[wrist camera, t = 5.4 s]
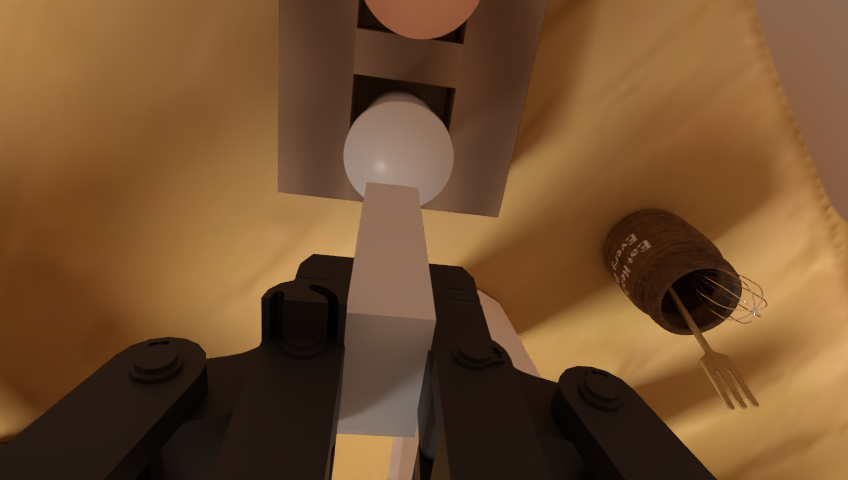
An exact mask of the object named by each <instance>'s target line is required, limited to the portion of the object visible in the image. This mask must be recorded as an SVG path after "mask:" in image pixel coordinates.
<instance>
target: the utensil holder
mask: <svg viewBox="0 0 848 480" xmlns="http://www.w3.org/2000/svg"><path fill="white" fill-rule="evenodd" d="M604 259H605V264H606V266H607V269H608V271H609V272H610V274H611V276H612V277H613V278H614V280H615V281H616V283H617V284H618V285H619V286H620V288H621V289H622V290H623V292H624V293H625V294H626V295H627V297H628V298H629V299H630V300H631V301H632V302H633V304H634V305H635V306H636V307H638V308H639V309H640V310H641V311H643V312H644V313H646V314H648V315H649V316H650V317H651V318H652V319H653V320H654V321H655V322H656V323H657V324H658V325H660V326H661V327H662V328H664V329H665V330H667V331H669V332H671V333H674V334H679V335H694V336H695V337H696V339H697V340H698V342H699V344H700V345H701V347H702V348H703V350H704V352H705V355H704V356H703V357H702V358H701V359H700V364H701V366H702V368H703V369H704V371H705V372H706V374H707V376H708V377H709V379H710V380H711V382H712V384H713V385H714V387H715V389H716V390H717V392H718V393H719V395H720V397H721V398H722V400H723V401H724V403H725V405H726V406H727V408H728V409H729V410H731V411H732V410H734V408H735V407H734V405H733V404H732V402H731V400H730V399H729V397H728V395H727V394H726V392H725V390H724V389H723V387H722V385H721V384H720V382H719V380H718V378H717V377H716V375H715V373H714V372H716V373H718V374H719V375H720V377H721V378H722V380H723V382H724V383H725V385H726V386H727V388H728V389H729V391H730V392H731V394H732V395H733V397H734V399H735V400H736V402H737V403H738V405H739V406H740V408H742V409H746V407H747V406H746V404H745V402H744V401H743V399H742V397H741V396H740V394H739V393H738V391H737V389H736V388H735V386H734V384H733V383H732V381H731V380H730V378H729V376H728V375H727V373H726V371H728V372H730V374H731V375H732V377H733V378H734V380H735V381H736V383H737V384H738V385H739V387H740V388H741V390H742V391H743V393H744V394H745V396H746V397H747V399H748V400H749V402H750V403H751V405H752V406H753V407H755V408H757V407H758V406H759V404H758V402H757V401H756V399H755V398H754V396H753V395H752V393H751V391H750V390H749V388H748V387H747V385H746V384H745V382H744V380H743V379H742V377H741V376H740V374H739V373H738V371H737V369H736V368H735V366H734V365H733V363H732V362H731V360H730V359H729V357H728V356H726V355H723V354H720V353H717V352H714V351H713V350H712V349H711V348H710V346H709V345H708V343H707V341H706V340H705V338H704V337H703V335H702V334H701V333H702V332H705V331H708V330H710V329H712V328H714V327H716V326H718V325H719V324H721V323H722V322H723V321H725V320H726V319H727V318H728V317H731V316H730V315H731V314H732V312H733V311H734V310H737V309H735V308H736V307H737V305H740V304H738V303H739V300H742V299H741V293H742V288H743V287H742V284H741V281H742V280H741V279H740V277H739V276H742V275H739V274H737V272H736V271H735V270H734V268H733V267H732V266H731V265H730V263H729V262H728V261H726V260H725V259H724V258H723V257H722V254H721V253H720V251H719V250H718V249H717V247H716V246H715V245H714V244H713V243H712V242H711V241H710V240H709V239H707V238H706V237H705V236H704V235H703V234H701V233H700V232H699V231H697V230H696V229H695V228H693V227H692V226H691V225H690V224H688V223H687V222H685V221H684V220H683V219H681V218H680V217H678V216H676V215H674V214H672V213H670V212H667V211H663V210H644V211H640V212H637V213H634V214H632V215H630V216H628V217H627V218H625V219H624V220H622V221H621V222H620V223H619V224H618V225H617V226H616V227H615V228H614V229H613V230H612V232H611V233H610V235H609V237H608V239H607V241H606V244H605V248H604ZM742 277H744V276H742ZM744 278H746V277H744ZM746 279H747V278H746ZM747 280H749V279H747ZM749 281H751V280H749ZM742 282H743V283H744V284H745V285H746V286H747V284H746V283H745V282H744V281H742ZM751 282H753V281H751ZM753 283H754V282H753ZM754 284H756V283H754ZM756 285H757V284H756ZM757 286H758V287H759V288H760V289H761V287H760V286H759V285H757ZM747 287H748V286H747ZM743 289H745V288H743ZM748 289H749V290H750V288H749V287H748ZM746 290H747V289H746ZM749 290H748V291H749ZM749 292H751V290H750V291H749ZM761 292H762V297H760V296H758V295H756V294H755V293H753V292H751V294H752V293H753V294H755V295H756V296H758V297H760V298H761V302H762V300H764V299H763V291H762V289H761ZM753 294H752V297H753V300H754V296H753ZM742 301H743V300H742ZM764 301H765V302H766V300H764ZM743 302H744V303H746V302H745V301H743ZM761 302H760V303H759V305H758V306H757V308H758V307H759V306H760V304H761ZM746 304H747V303H746ZM747 305H748V306H750V305H749V304H747ZM740 306H742V305H740ZM742 307H743V306H742ZM750 307H751V306H750ZM766 307H767V302H766V306H765V307H764V308H766ZM743 308H745V307H743ZM751 308H752V307H751ZM757 308H756V309H755V300H754V308H752V309H753V310H748V309H747V308H745V309H746V310H738V311H750V312H751V313H750V314H752V313H753V312H754V313H753V314H754V315H757V314H755V311H756V310H761V309H764V308H761V309H757ZM756 312H757V311H756ZM757 313H758V312H757ZM750 314H749V315H750ZM758 314H759V313H758ZM749 315H747V316H749ZM754 315H753V318H754ZM759 315H760V314H759ZM759 315H757V316H759ZM747 316H745V317H747ZM745 317H743V318H745ZM759 317H762V316H761V315H760V316H759ZM731 318H732V317H731ZM743 318H740V319H743ZM753 318H752V320H753ZM740 319H734V318H732V319H727V320H736V321H737V320H740ZM752 320H751V321H752ZM751 321H750V322H751ZM737 322H739V321H737ZM750 322H748V323H750ZM739 323H742V322H739ZM748 323H742V324H748Z"/></svg>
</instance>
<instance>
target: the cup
mask: <svg viewBox="0 0 848 480" xmlns="http://www.w3.org/2000/svg"><path fill="white" fill-rule="evenodd" d="M477 294H478V295H479V298H480V304H481V305H482V308H483V312H484V315H485V318H486V322H487V325H488V328H489V332H490V335H491V338H492V340H494V341H496V342H497V343H498V344H499V345H501V346H502V347H503V348H504V349H505V350H506V351H507V353H508V354H509V356H510V358H511V360H512V363H513V366H514V367H515V368H517V369H519V370H520V371H523V372H525V373H528V374H530V375H533V376H536V377H540V378H541V376H540V374H539V373H538V371H537V369H536V367H535V366H534V364H533V362H532V360H531V358H530V357H529V355H528V353H527V351H526V350H525V348H524V346H523V344H522V342H521V341H520V339H519V337H518V335H517V334H516V332H515V330H514V328H513V326H512V325H511V323H510V321H509V319H508V318H507V316H506V314H505V312H504V311H503V309H502V307H501V305H500V303H499V302H497V301H496V300H494V299H492V298H491V297H489V296H488V295H486V294H484V293H483V292H481V291H479V290H478V289H477ZM418 443H419V434H418V422H417V428H416V433H415V438H412V437H394V438H393V445H392V452H391V458H390V465H389V472H388V479H387V480H412V475H413V470H414V464H415V459H416V454H417V449H418Z"/></svg>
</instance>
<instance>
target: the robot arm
mask: <svg viewBox="0 0 848 480" xmlns="http://www.w3.org/2000/svg"><path fill="white" fill-rule="evenodd" d="M261 309H262V341H261V344H260V346H258V347H257V348H255V349H252V350H250V351H247V352H244V353H240V354H235V355H231V356H224V357H217V358H210V359H206V353H205V351H204V350H203V349H202V348H201V347H200V346H199V344H197V343H194V342H192V341H190V340H187V339H183V338H173V337H165V338H157V339H150V340H147V341H144V342H141V343H138V344H135V345H132V346H130V347H128V348H127V349H125V350H123V351H122V352H120V353H118V354H117V355H115V356H114V357H113V358H112V359H110V360H109V361H108V362H107V363H105V364H104V365H103V366H102V367H101V368H99V369H98V370H97V371H96V372H94V373H93V374H92V375H91V376H89V377H88V378H87V379H86V380H85V381H83V382H82V383H81V384H80V385H78V386H77V387H76V388H75V389H73V390H72V391H71V392H70V393H68V394H67V395H66V396H65V397H64V398H62V399H61V400H60V401H59V402H57V403H56V404H55V405H54V406H52V407H51V408H50V409H49V410H48V411H46V412H45V413H44V414H43V415H41V416H40V417H39V418H38V419H36V420H35V421H34V422H33V423H31V424H30V425H29V426H28V427H27V428H25V429H24V430H23V431H22V432H20V433H19V434H18V435H17V436H15V437H14V438H13V439H12V440H11V441H9V442H8V443H7V444H0V480H332V472H333V464H334V455H335V444H336V434H337V433H340V434H358V435H376V436H394V437H412V438H415V433H416V428H417V422H418V434H419V443H418V449H417V454H416V459H415V464H414V470H413V475H412V480H717V479H716V478H715V477H714V476H713V475H712V474H711V473H710V472H709V471H708V469H707V468H706V467H705V466H704V465H703V464H702V463H701V462H700V461H699V460H698V459H697V458H696V457H695V455H694V454H693V453H692V452H691V451H690V450H689V449H688V448H687V447H686V446H685V445H684V444H683V443H682V441H681V440H680V439H679V438H678V437H677V436H676V435H675V434H674V433H673V432H672V431H671V430H670V429H669V427H668V426H667V425H666V424H665V423H664V422H663V421H662V420H661V419H660V418H659V417H658V416H657V415H656V413H655V412H654V411H653V410H652V409H651V408H650V407H649V406H648V405H647V404H646V403H645V402H644V401H643V399H642V398H641V397H640V396H639V395H638V394H637V393H636V392H635V391H634V390H633V389H632V388H631V387H630V386H629V385H627V384H626V383H625V382H624V381H623V380H621V379H620V378H618V377H616V376H614V375H612V374H611V373H609V372H607V371H604V370H601V369H597V368H594V367H587V366H576V367H572V368H569V369H566V370H565V371H564V372H563V373H562V375H561V376H560V378H559V381H558V383H556V382H553V381H550V380H546V379H543V378H540V377H536V376H533V375H530V374H528V373H525V372H523V371H520V370H519V369H517V368H515V367H514V366H513V363H512V360H511V358H510V356H509V354H508V353H507V351H506V350H505V349H504V348H503V347H502V346H501V345H499V344H498V343H497V342H496V341H494V340H492V338H491V335H490V332H489V328H488V325H487V322H486V318H485V315H484V312H483V308H482V305H481V304H480V298H479V295H478V294H477V288H476V285H475V281H474V278H473V277H472V276H471V275H470V274H469V273H468V272H467V271H466V270H465V269H464V268H463V267H459V266H448V265H438V264H428V256H427V249H426V242H425V235H424V227H423V220H422V213H421V205H420V198H419V191H418V188H416V187H407V186H399V185H390V184H381V183H373V182H366V188H365V194H364V200H363V207H362V213H361V219H360V226H359V232H358V238H357V244H356V251H355V257H354V258H350V257H340V256H329V255H319V254H313V255H311V256H310V257H309V258H307V259H306V260H305V261H303V262H302V263H301V264H300V266H299V269H298V271H297V274H296V278H295V279H294V280H293V281H289V282H284V283H280V284H278V285H276V286H274V287H272V288H270V289H269V290H268V291H267V292H266V293H265V294H264V295H263V297H262V298H261Z"/></svg>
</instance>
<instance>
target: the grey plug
mask: <svg viewBox="0 0 848 480" xmlns="http://www.w3.org/2000/svg"><path fill="white" fill-rule="evenodd" d="M453 161H454V152H453V145H452V142H451V139H450V136H449V133H448V131H447V129H446V127H445V125H444V124H443V122H442V121H441V120H440V118H439V117H438V116H437V115H436V114H435V113H434V112H433V111H432V110H431V108H430V106H429V105H428V103H427V102H426V101H425V100H424V99H423V98H422V97H420V96H419V95H418V94H416V93H414V92H411V91H408V90H403V89H395V90H389V91H387V92H384V93H382V94H380V95H379V96H377V97H376V98H375V99H374V100H373V101H372V102H371V103H370V105H369V107H368V108H367V109H366V110H365V111H364V112H363V113H362V114H361V115H359V117H358V118H357V119H356V120H355V122H354V123H353V125H352V127H351V129H350V131H349V133H348V136H347V138H346V142H345V145H344V166H345V170H346V173H347V176H348V178H349V180H350V182H351V184H352V185H353V187H354V188H355V189H356V191H357V192H358V193H359V194H360V195H361V196H363V197H364V194H365V188H366V182H373V183H381V184H390V185H399V186H407V187H416V188H418V191H419V198H420V205H423V204H425V203H427V202H429V201H430V200H432V199H433V198H434V197H435V196H437V195H438V194H439V193H440V192H441V191H442V189H443V188H444V186H445V185H446V183H447V181H448V180H449V177H450V175H451V172H452V168H453Z"/></svg>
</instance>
